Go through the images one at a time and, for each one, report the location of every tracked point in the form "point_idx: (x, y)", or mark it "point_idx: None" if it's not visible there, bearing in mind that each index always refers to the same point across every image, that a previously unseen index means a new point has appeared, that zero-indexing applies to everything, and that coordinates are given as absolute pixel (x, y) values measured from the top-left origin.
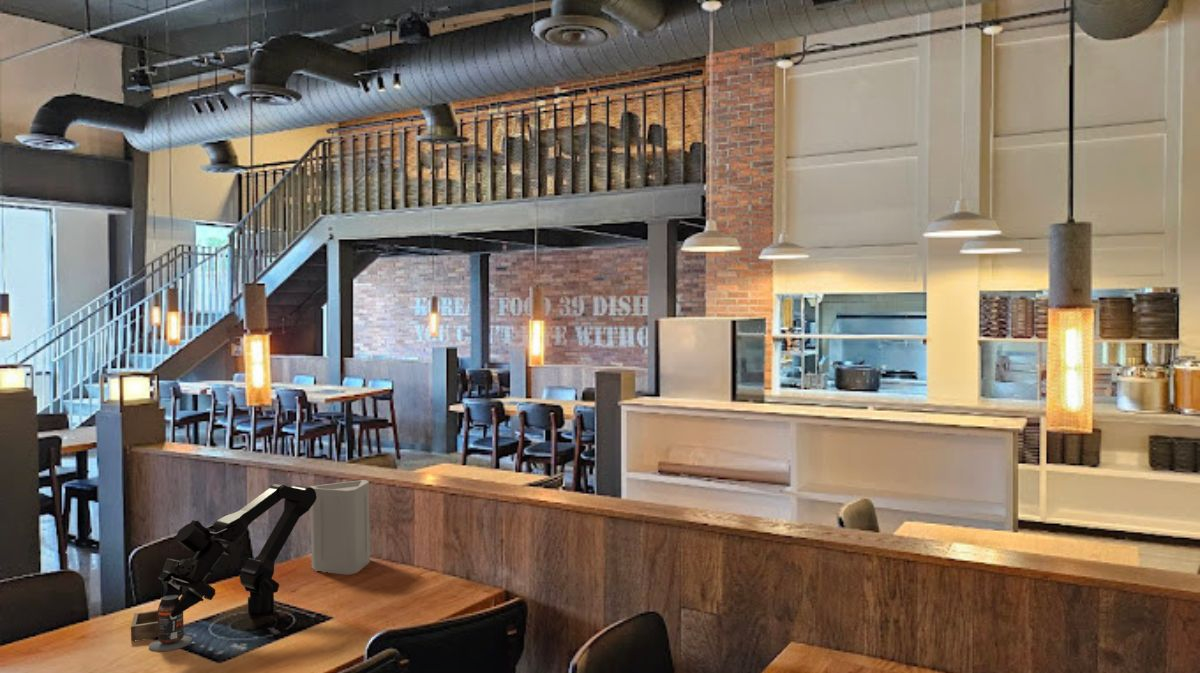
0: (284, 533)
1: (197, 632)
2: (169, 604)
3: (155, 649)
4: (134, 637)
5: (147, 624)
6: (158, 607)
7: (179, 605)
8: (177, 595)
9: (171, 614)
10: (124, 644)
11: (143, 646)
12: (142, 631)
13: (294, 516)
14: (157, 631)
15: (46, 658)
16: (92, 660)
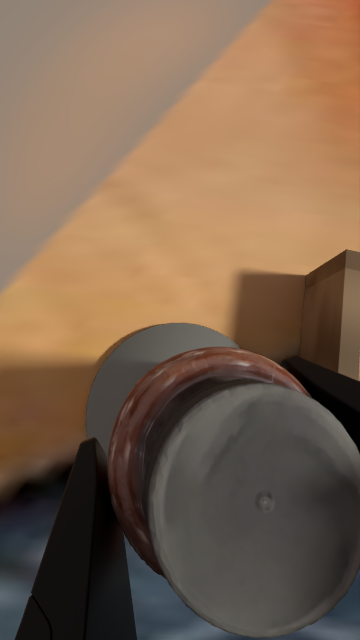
0: None
1: None
2: (151, 458)
3: (130, 342)
4: (313, 281)
5: (341, 323)
6: (315, 363)
7: (40, 576)
8: (289, 624)
9: (82, 447)
10: (290, 250)
11: (222, 308)
12: (323, 307)
13: None
14: None
15: (293, 34)
16: (182, 136)
